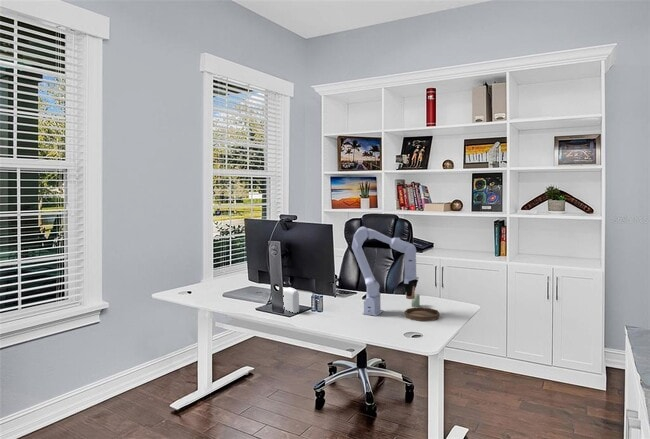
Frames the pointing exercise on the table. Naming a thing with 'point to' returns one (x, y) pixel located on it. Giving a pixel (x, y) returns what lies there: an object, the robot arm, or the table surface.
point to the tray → (421, 314)
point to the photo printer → (291, 299)
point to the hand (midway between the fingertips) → (410, 294)
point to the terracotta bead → (412, 294)
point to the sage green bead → (416, 301)
